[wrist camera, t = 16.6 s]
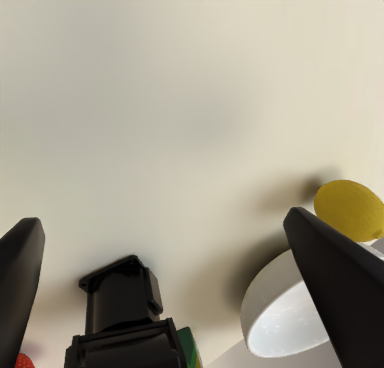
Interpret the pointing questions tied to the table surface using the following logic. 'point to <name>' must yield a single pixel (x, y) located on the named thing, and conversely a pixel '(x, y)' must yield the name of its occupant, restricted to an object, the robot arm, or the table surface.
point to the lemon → (351, 210)
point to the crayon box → (190, 348)
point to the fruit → (23, 362)
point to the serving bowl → (282, 310)
